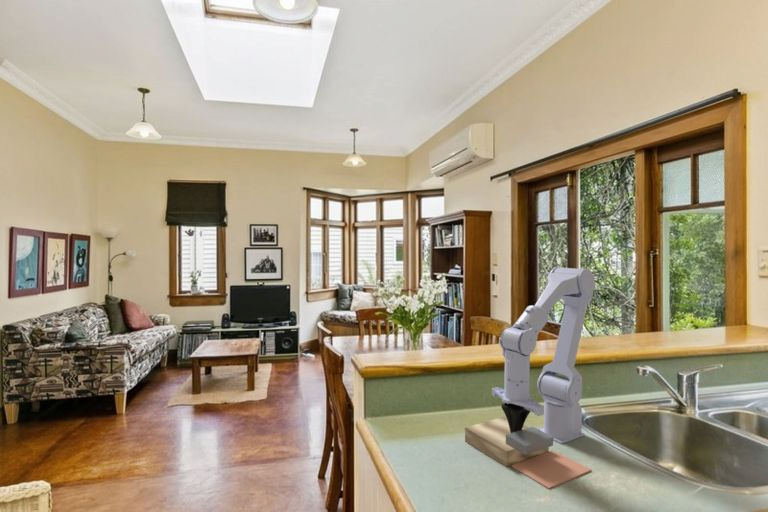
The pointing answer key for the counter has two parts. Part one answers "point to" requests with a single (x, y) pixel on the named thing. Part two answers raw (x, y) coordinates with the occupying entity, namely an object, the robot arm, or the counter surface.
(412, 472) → the counter surface
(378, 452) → the counter surface
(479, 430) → the birch deck
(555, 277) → the robot arm
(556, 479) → the terracotta mat
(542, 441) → the slate tile
